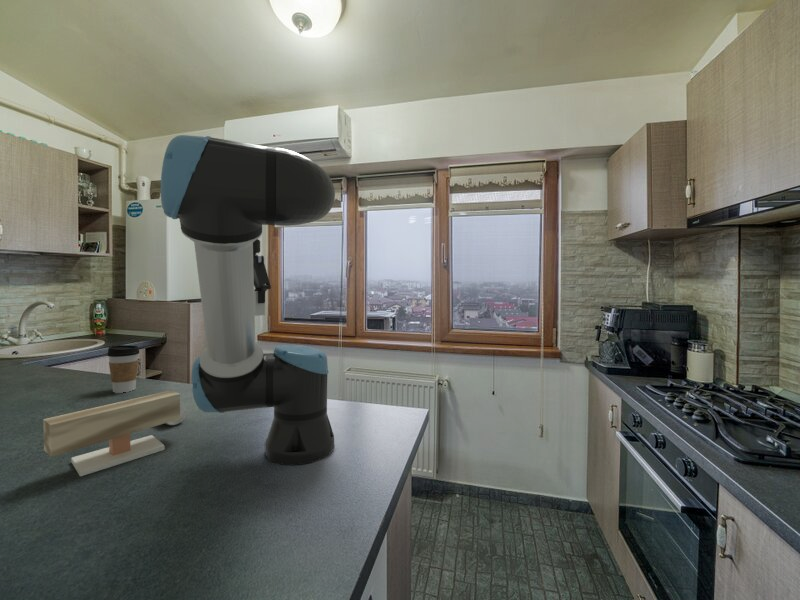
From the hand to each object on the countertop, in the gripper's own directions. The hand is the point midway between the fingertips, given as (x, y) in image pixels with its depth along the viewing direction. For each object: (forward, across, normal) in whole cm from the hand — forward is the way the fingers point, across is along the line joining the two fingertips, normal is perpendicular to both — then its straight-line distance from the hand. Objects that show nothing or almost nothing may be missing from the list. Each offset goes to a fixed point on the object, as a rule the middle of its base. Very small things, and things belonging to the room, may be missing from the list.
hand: (245, 313), depth 98 cm
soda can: (+26, +5, +16) cm, 31 cm away
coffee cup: (+29, +48, +15) cm, 58 cm away
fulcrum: (+28, -3, +30) cm, 41 cm away
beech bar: (+24, -3, +30) cm, 38 cm away
